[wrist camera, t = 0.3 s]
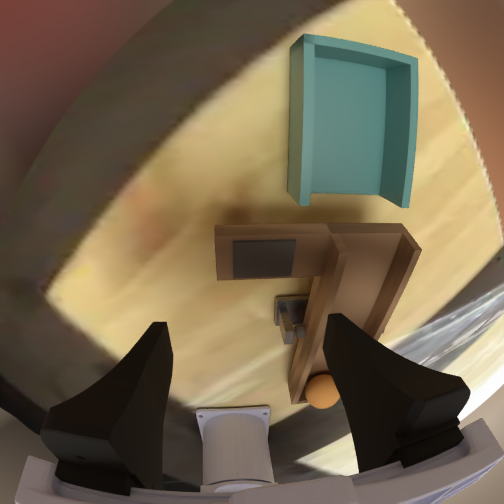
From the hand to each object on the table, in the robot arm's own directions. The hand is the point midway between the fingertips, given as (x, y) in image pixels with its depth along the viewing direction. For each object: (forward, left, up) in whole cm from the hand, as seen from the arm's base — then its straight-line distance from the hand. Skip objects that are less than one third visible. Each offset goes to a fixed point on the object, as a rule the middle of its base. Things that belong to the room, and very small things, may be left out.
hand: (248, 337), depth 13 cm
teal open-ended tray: (+9, -7, -9) cm, 15 cm away
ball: (-12, -7, -6) cm, 16 cm away
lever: (-5, -4, -7) cm, 10 cm away
